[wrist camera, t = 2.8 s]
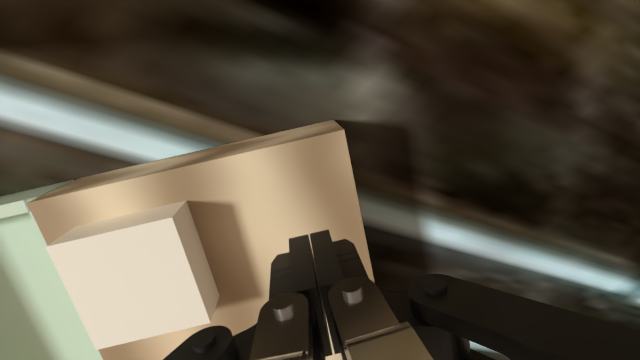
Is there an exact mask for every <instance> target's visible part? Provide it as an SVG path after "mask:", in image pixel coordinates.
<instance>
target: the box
mask: <svg viewBox="0 0 640 360" xmlns="http://www.w3.org/2000/svg"><path fill="white" fill-rule="evenodd" d="M73 181H75V180H70V181H66V182H61V183H57V184H53V185H48V186H44V187H40V188H35V189H31V190H26V191H22V192H18V193H13V194H9V195H5V196H0V360H103V359H102V356H101V354H100V352H99V350H96V349H95V347H94V345H93V343H92V341H91V339H90V337H89V335H88V333H87V331H86V329H85V327H84V325H83V323H82V321H81V319H80V316H79V314H78V312H77V310H76V308H75V306H74V304H73V302H72V300H71V298H70V296H69V294H68V292H67V290H66V288H65V286H64V284H63V282H62V280H61V278H60V276H59V274H58V272H57V269H56V267H55V265H54V263H53V261H52V259H51V257H50V255H49V253H48V251H47V249H46V246H47V244H46V241H45V239H44V237H43V235H42V233H41V231H40V229H39V227H38V225H37V223H36V221H35V219H34V217H33V215H32V213H31V211H30V209H29V207H28V204H27V203H28V202H30V201H32V200H34V199H36V198H39V197H41V196H43V195H45V194H47V193H49V192H51V191H54V190H56V189H58V188H60V187H62V186H64V185H66V184H69V183H71V182H73Z"/></svg>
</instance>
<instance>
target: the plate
mask: <svg viewBox="0 0 640 360" xmlns="http://www.w3.org/2000/svg"><path fill="white" fill-rule="evenodd" d="M183 201H187V203H188V206H189V209H190V212H191V215H192V218H193V221H194V224H195V227H196V229H197V232H198V235H199V238H200V241H201V244H202V247H203V250H204V252H205V255H206V258H207V261H208V264H209V267H210V270H211V273H212V275H213V278H214V281H215V284H216V287H217V290H218V293H219V299H218V302H217V305H216V308H215V311H214V314H213V317H212V320H211V323H208V324H203V325H199V326H195V327H191V328H187V329H182V330H178V331H174V332H170V333H166V334H162V335H157V336H153V337H149V338H145V339H141V340H136V341H132V342H128V343H124V344H120V345H115V346H111V347H107V348H103V349H99V352H100V354H101V356H102V359H103V360H163V359H164V358H165V357H166V356H168V355H169V354H170V353H171V352H172V351H173V350H175V349H176V348H177V347H178V346H179V345H180V344H182V343H183V342H184V341H185V340H186V339H187V338H189V337H190V336H191V335H193V334H194V333H196V332H198V331H199V330H202V329H204V328H207V327H210V326H217V325H219V326H225V327H227V328H229V329H230V330H231V332H232V335H233V336H234V335H236V334H238V333H240V332H242V331H244V330H246V329H248V328H250V327H252V326H253V325H255V324H256V323H257V321H258V316H259V312H260V309H261V308H262V306H263V305H264V304H265V303H266V302H267V301H269V287H270V273H271V263H272V261H273V260H274V259H275V257H276V256H277V255H279V254H283V253H287V252H289V238H294V237H298V236H302V235H306V234H308V236H309V240H310V244H311V239H310V233H315V232H319V231H323V230H328V229H329V232H330V235H331V239H332V242H334V241H338V240H342V239H347V240H349V241H350V242H352V243H354V245H355V247H356V250H357V253H358V254H359V256H360V259H361V261H362V263H363V266H364V268H365V270H366V273H367V275H368V277H369V279H370V280H372V281H373V282H374V277H373V272H372V267H371V262H370V257H369V252H368V247H367V242H366V237H365V232H364V227H363V222H362V217H361V211H360V206H359V201H358V196H357V191H356V186H355V181H354V176H353V171H352V166H351V161H350V156H349V151H348V146H347V141H346V136H345V131H344V129H343V128H342V127H341V126H340V125H339V124H338V123H336V122H335V121H334V120H331V121H326V122H322V123H318V124H313V125H309V126H304V127H300V128H296V129H291V130H287V131H283V132H278V133H274V134H270V135H265V136H261V137H257V138H252V139H248V140H244V141H239V142H235V143H231V144H226V145H222V146H218V147H213V148H209V149H205V150H200V151H196V152H192V153H187V154H183V155H179V156H174V157H170V158H165V159H161V160H157V161H152V162H148V163H144V164H139V165H135V166H131V167H126V168H122V169H118V170H113V171H109V172H105V173H100V174H96V175H92V176H87V177H83V178H79V179H77V180H75V181H73V182H71V183H69V184H66V185H64V186H62V187H60V188H58V189H56V190H54V191H51V192H49V193H47V194H45V195H43V196H41V197H39V198H36V199H34V200H32V201H30V202H28V203H27V204H28V207H29V209H30V211H31V213H32V215H33V217H34V219H35V221H36V223H37V225H38V227H39V229H40V231H41V233H42V235H43V237H44V239H45V241H46V244H47V246H48V245H49V244H50V243H52V242H53V241H55V240H56V239H58V238H59V237H61V236H62V235H64V234H65V233H67V232H68V231H70V230H71V229H72V228H74V227H75V226H79V225H84V224H88V223H92V222H97V221H101V220H105V219H110V218H114V217H118V216H122V215H127V214H131V213H135V212H140V211H144V210H148V209H153V208H157V207H161V206H165V205H170V204H174V203H178V202H183ZM311 248H312V245H311ZM312 253H313V250H312ZM313 257H314V256H313ZM374 283H375V282H374ZM326 321H327V319H326ZM327 326H328V323H327ZM328 332H329V327H328ZM329 337H330V343H331V348H332V354H333V355H331V356H327V357H325V358H326V360H342V355H341V353H338V354H335V353H334V348H333V344H332V340H331V336H330V332H329Z"/></svg>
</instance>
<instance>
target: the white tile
mask: <svg viewBox="0 0 640 360" xmlns="http://www.w3.org/2000/svg"><path fill="white" fill-rule="evenodd" d="M46 249H47V251H48V253H49V255H50V257H51V259H52V261H53V263H54V265H55V267H56V269H57V272H58V274H59V276H60V278H61V280H62V282H63V284H64V286H65V288H66V290H67V292H68V294H69V296H70V298H71V300H72V302H73V304H74V306H75V308H76V310H77V312H78V314H79V316H80V319H81V321H82V323H83V325H84V327H85V329H86V331H87V333H88V335H89V337H90V339H91V341H92V343H93V345H94V347H95V349H96V350H99V349H103V348H107V347H111V346H115V345H120V344H124V343H128V342H132V341H136V340H141V339H145V338H149V337H153V336H157V335H162V334H166V333H170V332H174V331H178V330H182V329H187V328H191V327H195V326H199V325H203V324H208V323H211V320H212V317H213V314H214V311H215V308H216V305H217V302H218V299H219V293H218V290H217V287H216V284H215V281H214V278H213V275H212V273H211V270H210V267H209V264H208V261H207V258H206V255H205V252H204V250H203V247H202V244H201V241H200V238H199V235H198V232H197V229H196V227H195V224H194V221H193V218H192V215H191V212H190V209H189V206H188V203H187V201H183V202H178V203H174V204H170V205H165V206H161V207H157V208H153V209H148V210H144V211H140V212H135V213H131V214H127V215H122V216H118V217H114V218H110V219H105V220H101V221H97V222H92V223H88V224H84V225H79V226H75V227H74V228H72V229H71V230H70V231H68V232H67V233H65V234H64V235H62V236H61V237H59V238H58V239H56V240H55V241H53V242H52V243H50V244H49V245H48V246H46Z"/></svg>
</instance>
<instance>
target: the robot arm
mask: <svg viewBox="0 0 640 360" xmlns="http://www.w3.org/2000/svg"><path fill="white" fill-rule="evenodd" d="M310 239H311V244H310V240H309V236H308V234H306V235H302V236H298V237H294V238H289V252H287V253H283V254H279V255H277V256H276V257H275V259H274V260H273V261H272V263H271V273H270V287H269V301H267V302H266V303H265V304H264V305H263V306H262V308H261V309H260V312H259V316H258V321H257V323H256V324H255V325H253V326H252V327H250V328H248V329H246V330H244V331H242V332H240V333H238V334H236V335H234V336H233V335H232V332H231V330H230V329H229V328H227V327H225V326H219V325H217V326H210V327H207V328H204V329H202V330H199V331H198V332H196V333H194V334H193V335H191V336H190V337H189V338H187V339H186V340H185V341H184V342H183V343H182V344H180V345H179V346H178V347H177V348H176V349H175V350H173V351H172V352H171V353H170V354H169V355H168V356H166V357H165V358H164V359H163V360H326V358H325V357H327V356H331V355H333V354H332V348H331V343H330V337H329V332H330V336H331V340H332V344H333V348H334V353H335V354H338V353H341V355H342V360H495V359H493V358H490V357H488V356H486V355H483V354H481V353H479V352H476V351H474V350H472V349H470V343H469V340H470V341H472V342H475V343H477V344H480V345H482V346H484V347H487V348H489V349H492V350H494V351H497V352H499V353H501V354H503V355H505V356H507V357H508V358H509V359H511V360H640V331H639V330H635V329H632V328H628V327H625V326H621V325H618V324H614V323H611V322H607V321H604V320H600V319H597V318H593V317H590V316H586V315H583V314H579V313H576V312H573V311H569V310H566V309H562V308H559V307H555V306H552V305H548V304H545V303H541V302H538V301H534V300H531V299H527V298H524V297H520V296H517V295H513V294H510V293H506V292H503V291H500V290H496V289H493V288H489V287H486V286H482V285H479V284H475V283H472V282H468V281H465V280H461V279H458V278H454V277H451V276H447V275H442V274H429V275H424V276H421V277H419V278H417V279H415V280H414V281H412V282H411V284H410V285H409V287H408V292H405V293H392V292H386V291H382V290H380V289H378V287H377V285H376V284H375V283H374V282H373V281H372V280H370V279H369V277H368V275H367V273H366V270H365V268H364V266H363V263H362V261H361V259H360V256H359V254H358V253H357V250H356V247H355V245H354V243H352V242H350V241H349V240H347V239H342V240H338V241H334V242H332V239H331V235H330V232H329V229H328V230H323V231H319V232H315V233H310ZM311 245H312V248H311ZM312 250H313V253H312ZM313 256H314V257H313ZM326 319H327V321H326ZM327 323H328V326H327ZM328 327H329V332H328Z"/></svg>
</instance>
